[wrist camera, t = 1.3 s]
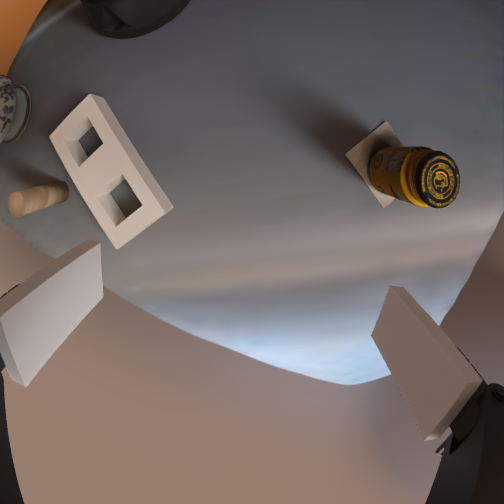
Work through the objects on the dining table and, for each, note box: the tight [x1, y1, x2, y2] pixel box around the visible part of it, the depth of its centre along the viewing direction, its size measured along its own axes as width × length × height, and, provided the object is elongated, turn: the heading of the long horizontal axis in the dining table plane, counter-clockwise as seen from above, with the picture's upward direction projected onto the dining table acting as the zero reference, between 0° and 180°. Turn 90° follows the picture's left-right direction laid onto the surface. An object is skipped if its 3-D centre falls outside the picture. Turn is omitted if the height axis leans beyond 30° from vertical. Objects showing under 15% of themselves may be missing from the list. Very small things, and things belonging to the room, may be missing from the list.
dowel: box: [7, 181, 69, 218], centre depth 29 cm, size 3×3×10 cm
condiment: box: [345, 121, 460, 208], centre depth 26 cm, size 7×8×12 cm
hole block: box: [49, 94, 174, 250], centre depth 31 cm, size 18×8×4 cm, turn 32°
